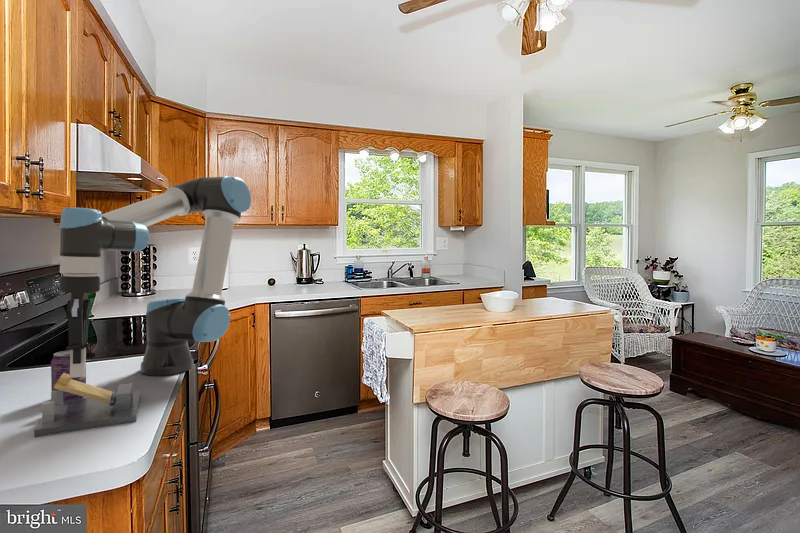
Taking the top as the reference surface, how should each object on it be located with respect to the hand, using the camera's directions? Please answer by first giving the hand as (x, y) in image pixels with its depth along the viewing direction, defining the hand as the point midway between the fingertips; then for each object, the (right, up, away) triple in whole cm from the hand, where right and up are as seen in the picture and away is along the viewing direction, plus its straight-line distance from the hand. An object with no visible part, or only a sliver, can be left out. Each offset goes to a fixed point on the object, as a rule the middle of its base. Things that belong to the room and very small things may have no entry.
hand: (77, 376), depth 98 cm
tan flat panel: (+1, -4, +1) cm, 5 cm away
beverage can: (-11, -9, +12) cm, 19 cm away
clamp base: (+2, -10, +2) cm, 10 cm away
